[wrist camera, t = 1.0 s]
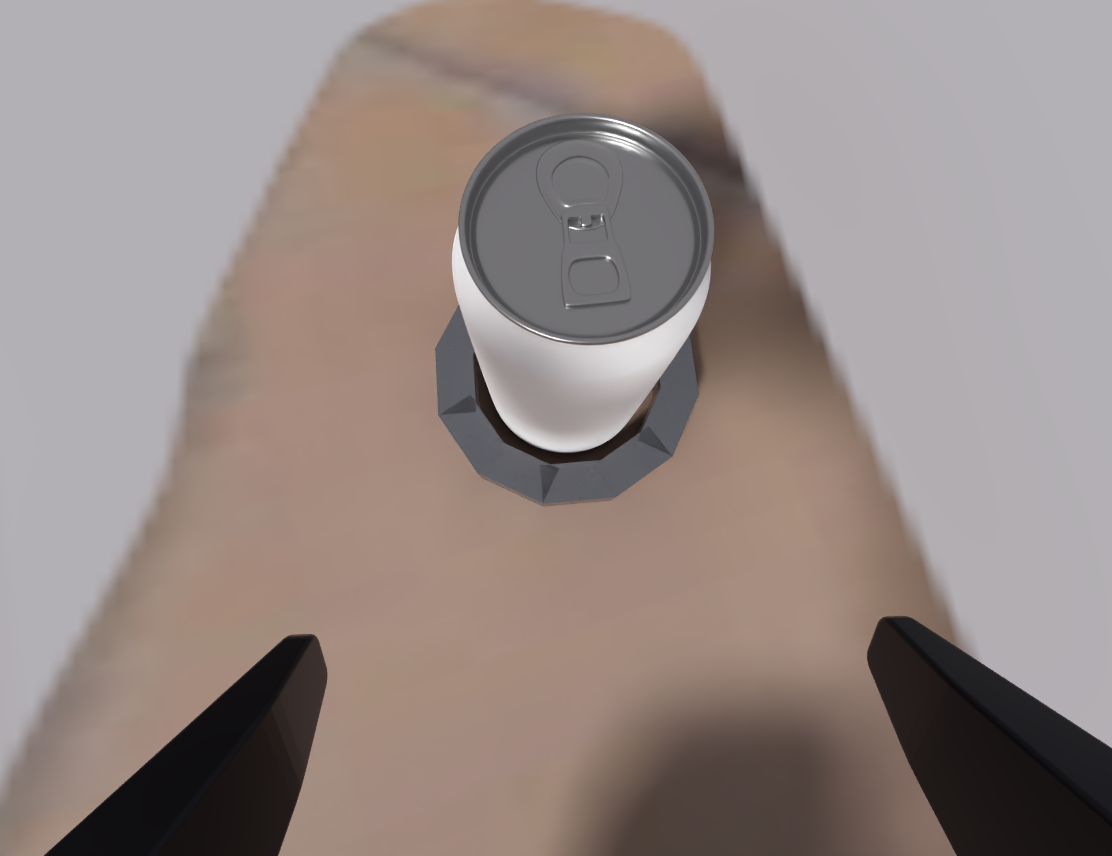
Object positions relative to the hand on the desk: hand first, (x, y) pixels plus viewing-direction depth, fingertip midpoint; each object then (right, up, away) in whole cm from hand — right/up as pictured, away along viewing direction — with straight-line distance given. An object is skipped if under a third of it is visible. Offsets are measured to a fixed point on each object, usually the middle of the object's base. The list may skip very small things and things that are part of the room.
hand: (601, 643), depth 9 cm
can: (0, +5, +15) cm, 16 cm away
